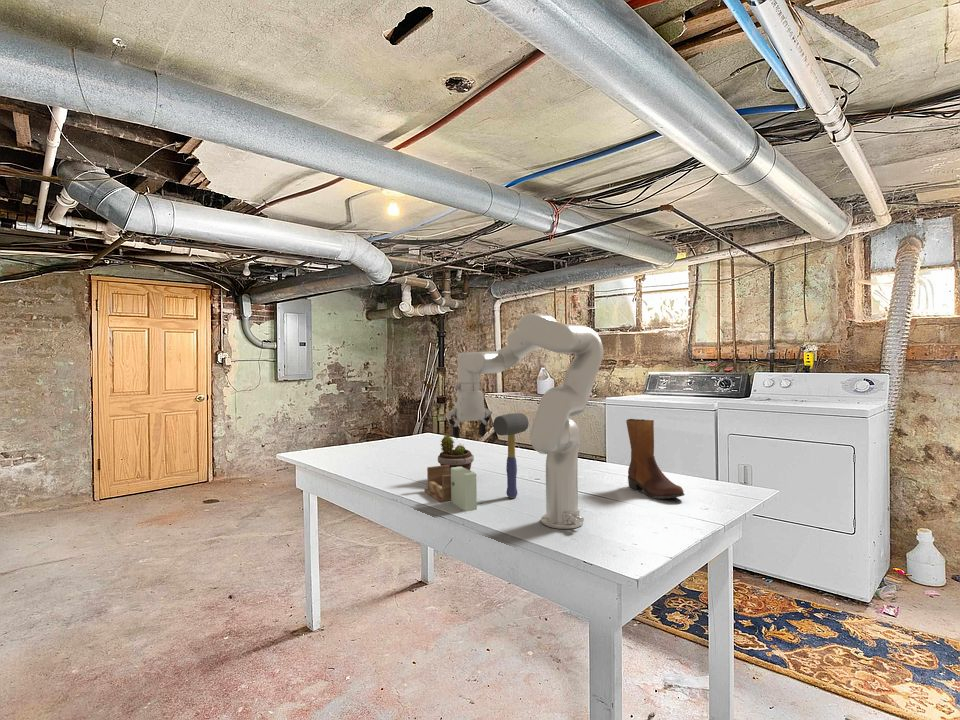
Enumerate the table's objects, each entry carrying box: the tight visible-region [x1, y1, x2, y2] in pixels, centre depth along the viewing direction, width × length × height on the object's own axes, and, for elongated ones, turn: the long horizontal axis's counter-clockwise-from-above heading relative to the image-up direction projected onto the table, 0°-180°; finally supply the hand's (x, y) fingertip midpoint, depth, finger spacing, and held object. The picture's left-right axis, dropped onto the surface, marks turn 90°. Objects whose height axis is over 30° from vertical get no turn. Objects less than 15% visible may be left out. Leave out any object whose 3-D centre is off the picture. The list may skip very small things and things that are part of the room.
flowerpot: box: [437, 432, 475, 474], centre depth 203 cm, size 14×15×20 cm
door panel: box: [450, 467, 478, 512], centre depth 171 cm, size 12×4×12 cm, turn 27°
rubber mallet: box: [492, 412, 530, 499], centre depth 179 cm, size 12×8×30 cm, turn 135°
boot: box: [625, 418, 685, 500], centre depth 182 cm, size 25×9×27 cm, turn 17°
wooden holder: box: [424, 465, 451, 503], centre depth 184 cm, size 16×11×9 cm
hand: (469, 436), depth 176 cm, fingers open, 9 cm apart
